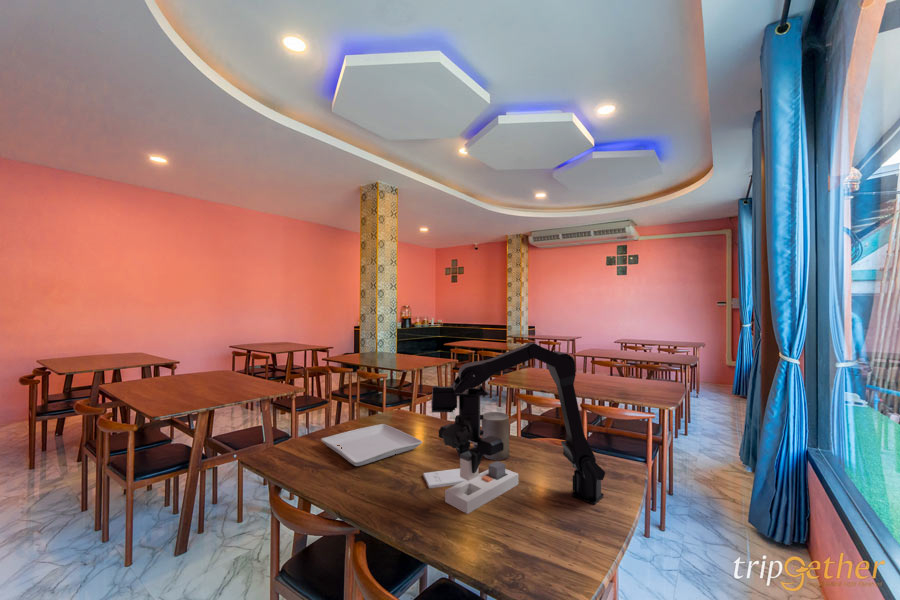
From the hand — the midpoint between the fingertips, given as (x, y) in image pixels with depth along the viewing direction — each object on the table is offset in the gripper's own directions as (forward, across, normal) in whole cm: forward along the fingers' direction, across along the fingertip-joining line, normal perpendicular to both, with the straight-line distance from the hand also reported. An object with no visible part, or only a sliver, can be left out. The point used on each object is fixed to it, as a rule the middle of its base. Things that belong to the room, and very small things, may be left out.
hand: (469, 470), depth 96 cm
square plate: (+8, -49, +1) cm, 50 cm away
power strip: (+8, 0, +6) cm, 10 cm away
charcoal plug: (+8, 0, +12) cm, 14 cm away
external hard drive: (+9, -13, +4) cm, 16 cm away
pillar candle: (+8, -14, +29) cm, 33 cm away
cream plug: (+2, 0, 0) cm, 2 cm away
